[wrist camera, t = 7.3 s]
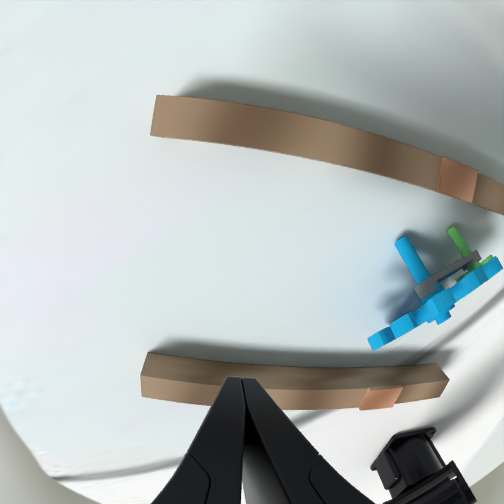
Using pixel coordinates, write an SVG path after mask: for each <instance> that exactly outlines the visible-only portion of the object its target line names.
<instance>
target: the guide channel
mask: <svg viewBox="0 0 504 504" xmlns="http://www.w3.org/2000/svg"><path fill="white" fill-rule="evenodd" d="M150 136H156V137H163V138H174V139H184V140H193V141H202V142H210V143H218V144H226V145H233V146H240V147H246V148H253V149H259V150H265V151H271V152H276V153H282V154H287V155H293V156H298V157H303V158H308V159H313V160H318V161H322V162H327V163H332V164H336V165H340V166H345V167H349V168H353V169H357V170H361V171H365V172H369V173H373V174H377V175H381V176H385V177H388V178H392V179H396V180H399V181H403V182H406V183H410V184H413V185H416V186H420V187H423V188H426V189H430V190H433V191H436V192H439V193H442V194H445V195H448V196H451V197H454V198H457V199H460V200H463V201H466V202H468V203H471V204H474V205H477V206H480V207H482V208H485V209H488V210H490V211H493V212H496V213H499V214H502V215H504V185H503V184H501V183H499V182H497V181H495V180H493V179H491V178H488V177H486V176H484V175H482V174H480V173H478V171H477V170H475V169H472V168H470V167H468V166H466V165H463V164H461V163H459V162H456V161H454V160H452V159H449V158H447V157H440V156H437V155H435V154H432V153H429V152H427V151H424V150H421V149H419V148H416V147H413V146H410V145H407V144H404V143H402V142H399V141H396V140H393V139H389V138H386V137H383V136H380V135H377V134H373V133H370V132H367V131H363V130H360V129H356V128H353V127H349V126H345V125H342V124H338V123H334V122H330V121H326V120H322V119H318V118H313V117H309V116H305V115H300V114H295V113H291V112H286V111H281V110H275V109H270V108H264V107H259V106H253V105H246V104H240V103H233V102H226V101H218V100H210V99H201V98H191V97H179V96H166V95H157V96H156V102H155V107H154V113H153V120H152V126H151V133H150ZM227 376H239V377H240V378H242V377H253V378H256V379H257V380H258V382H259V383H260V384H261V385H262V387H263V388H264V389H265V390H266V391H267V393H268V394H269V395H270V396H271V398H272V399H273V400H274V401H275V402H276V404H277V405H278V406H279V407H280V409H281V410H318V409H342V408H357V407H359V409H360V410H371V409H381V408H389V407H393V405H394V404H397V403H405V402H412V401H419V400H425V399H431V398H437V397H440V395H441V394H442V392H443V390H444V389H445V387H446V385H447V384H448V382H449V380H450V379H449V378H448V377H447V376H446V375H445V373H444V372H443V371H442V370H441V369H440V367H439V366H438V365H437V364H436V363H434V364H422V365H408V366H390V367H360V368H316V367H285V366H266V365H251V364H238V363H227V362H217V361H208V360H199V359H190V358H183V357H175V356H168V355H161V354H155V353H149V352H148V353H147V356H146V359H145V362H144V365H143V368H142V372H141V375H140V378H141V392H142V397H147V398H153V399H160V400H166V401H173V402H181V403H189V404H197V405H207V406H211V405H212V403H213V401H214V400H215V398H216V396H217V394H218V392H219V390H220V388H221V386H222V384H223V382H224V380H225V378H226V377H227Z"/></svg>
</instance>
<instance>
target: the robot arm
mask: <svg viewBox="0 0 504 504" xmlns="http://www.w3.org/2000/svg"><path fill="white" fill-rule="evenodd" d="M435 432H436V429H435V428H430V429H425V430H421V431H416V432H411V433H406V434H401V435H396V436H394V437H392V438H391V440H390V441H389V442H388V444H387V445H386V447H385V448H384V449H383V451H382V452H381V454H380V455H379V456H378V458H377V459H376V460H375V462H374V463H373V464H372V466H371V467H370V468H371V470H372V471H374V470H377V471H378V474H379V476H380V479H381V481H382V483H383V486H384V488H385V489H386V490H389V492H390V494H391V497H392V499H391V500H389V501H386V502H384V503H383V504H474V503H475V502H477V500H476V498H475V497H474V495H473V493H472V492H471V489H470V488H469V486H468V484H467V483H466V481H465V479H464V478H463V476H462V474H461V473H460V471H459V469H458V468H457V466H456V465H455V463H454V461H453V460H452V461H451V462H449V464H448V465H445V463H444V461H443V459H442V458H441V456H440V454H439V453H438V451H437V449H436V448H435V446H434V444H433V443H432V441H431V440H430V439H431V438H432V436H433V435H434V434H435ZM455 476H457V478H455V479H452V478H453V477H455ZM450 479H452V480H450ZM242 482H243V488H244V494H245V499H246V504H375V503H374V502H373V501H371V500H370V499H369V498H367V497H366V496H365V495H364V494H362V493H361V492H360V491H359V490H357V489H356V488H355V487H354V486H352V485H351V484H350V483H349V482H348V481H347V480H345V479H344V478H343V477H342V476H341V475H340V474H339V473H338V472H337V471H336V470H335V469H334V468H333V467H332V466H331V465H330V464H329V463H328V462H327V461H326V460H325V459H324V458H323V457H322V456H321V455H319V452H318V451H317V450H316V449H315V448H314V447H313V446H312V445H311V443H310V442H309V441H308V440H307V439H306V438H305V437H304V435H303V434H302V433H301V432H300V431H299V430H298V429H297V427H296V426H295V425H294V424H293V423H292V422H291V420H290V419H289V418H288V417H287V416H286V414H285V413H284V412H283V411H282V410H281V409H280V407H279V406H278V405H277V404H276V402H275V401H274V400H273V399H272V398H271V396H270V395H269V394H268V393H267V391H266V390H265V389H264V388H263V387H262V385H261V384H260V383H259V382H258V380H257V379H256V378H253V377H242V378H240V377H239V376H227V377H226V378H225V380H224V382H223V384H222V386H221V388H220V390H219V392H218V394H217V396H216V398H215V400H214V401H213V403H212V405H211V407H210V409H209V411H208V413H207V415H206V417H205V419H204V421H203V423H202V424H201V426H200V428H199V430H198V432H197V434H196V436H195V438H194V440H193V441H192V443H191V445H190V447H189V449H188V451H187V453H186V454H185V456H184V458H183V460H182V461H181V463H180V465H179V466H178V468H177V470H176V471H175V473H174V475H173V476H172V478H171V479H170V480H169V482H168V483H167V484H166V486H165V487H164V488H163V490H162V491H161V492H160V493H159V495H158V496H157V497H156V498H155V499H154V501H153V502H152V503H151V504H241V489H242Z"/></svg>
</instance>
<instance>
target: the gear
mask: <svg viewBox="0 0 504 504" xmlns="http://www.w3.org/2000/svg"><path fill="white" fill-rule="evenodd" d="M447 232H448V234H449V235H450V237H451V239H452V240H453V242H454V243H455V245H456V247H457V248H458V250H459V252H460V253H461V255H462V257H463V258H462V259H460V260H458V261H457V262H455V263H453V264H452V265H450V266H448V267H446V268H445V269H443V270H441V271H439V272H438V273H436V274H434V275H432V276H430V275H429V273H428V271H427V269H426V267H425V266H424V264H423V262H422V260H421V259H420V257H419V255H418V254H417V252H416V250H415V249H414V247H413V245H412V244H411V242H410V240H409V239H408V237H407V236H405V237H402V238H401V239H399V240H398V241H397V242H396V243H395V246H396V248H397V250H398V251H399V253H400V255H401V257H402V258H403V260H404V262H405V264H406V265H407V267H408V269H409V271H410V272H411V274H412V276H413V278H414V280H415V282H416V283H417V286H416V287H415V288H414V290H415V292H416V293H417V295H418V297H419V299H420V301H421V303H422V305H421V306H420V308H419V309H417V310H416V311H414V312H409V313H407V314H406V315H404V316H402V317H401V318H399V319H397V320H396V321H394V322H392V323H391V324H389V325H390V327H387V328H385V329H383V330H381V331H379V332H377V333H375V334H374V335H372V336H370V337H369V338H368V341H369V344H370V346H371V348H372V350H373V351H374V350H376V349H378V348H380V347H382V346H383V345H385V344H387V343H389V342H391V341H393V340H395V339H396V338H398V337H400V336H402V335H403V334H405V333H407V332H409V331H411V330H412V329H414V328H416V327H417V326H419V325H421V324H422V323H424V322H426V321H427V322H428V323H430V322H432V321H433V320H436V322H437V324H438V325H439V324H441V323H442V322H444V321H446V320H447V319H449V318H450V317H451V315H450V313H449V310H451V309H452V308H454V307H455V305H454V303H456V302H457V301H459V300H460V299H462V298H463V297H465V296H466V295H468V294H469V293H470V292H472V291H473V290H475V289H476V288H477V287H479V286H480V285H482V284H483V283H484V282H486V281H487V280H489V279H490V278H491V277H493V276H494V275H495V274H497V273H498V272H499V271H500V270H502V269H503V267H502V265H501V263H500V262H499V260H498V258H497V257H496V256H495V257H493V256H492V255H490V256H489V257H487V258H486V259H485V260H483V261H482V262H481V263H479V261H480V260H481V259H482V258H481V257H480V255H479V253H478V251H477V250H475V251H473V252H472V253H471V251H470V250H469V248H468V246H467V245H466V243H465V241H464V240H463V238H462V236H461V235H460V233H459V232H458V230H457V228H456V227H455V226H453V227H451V228H450V229H449V230H448V231H447ZM460 269H463V271H466V270H468V272H467V273H465V274H464V275H462V276H461V277H459V278H458V279H457V280H456V281H457V283H456V284H455V285H454V286H452V287H451V288H449V287H448V288H446V289H445V290H443V289H442V287H441V285H440V283H439V282H440V281H442V280H444V279H446V278H447V277H449V276H451V275H452V274H454V273H456V272H457V271H459V270H460Z"/></svg>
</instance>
